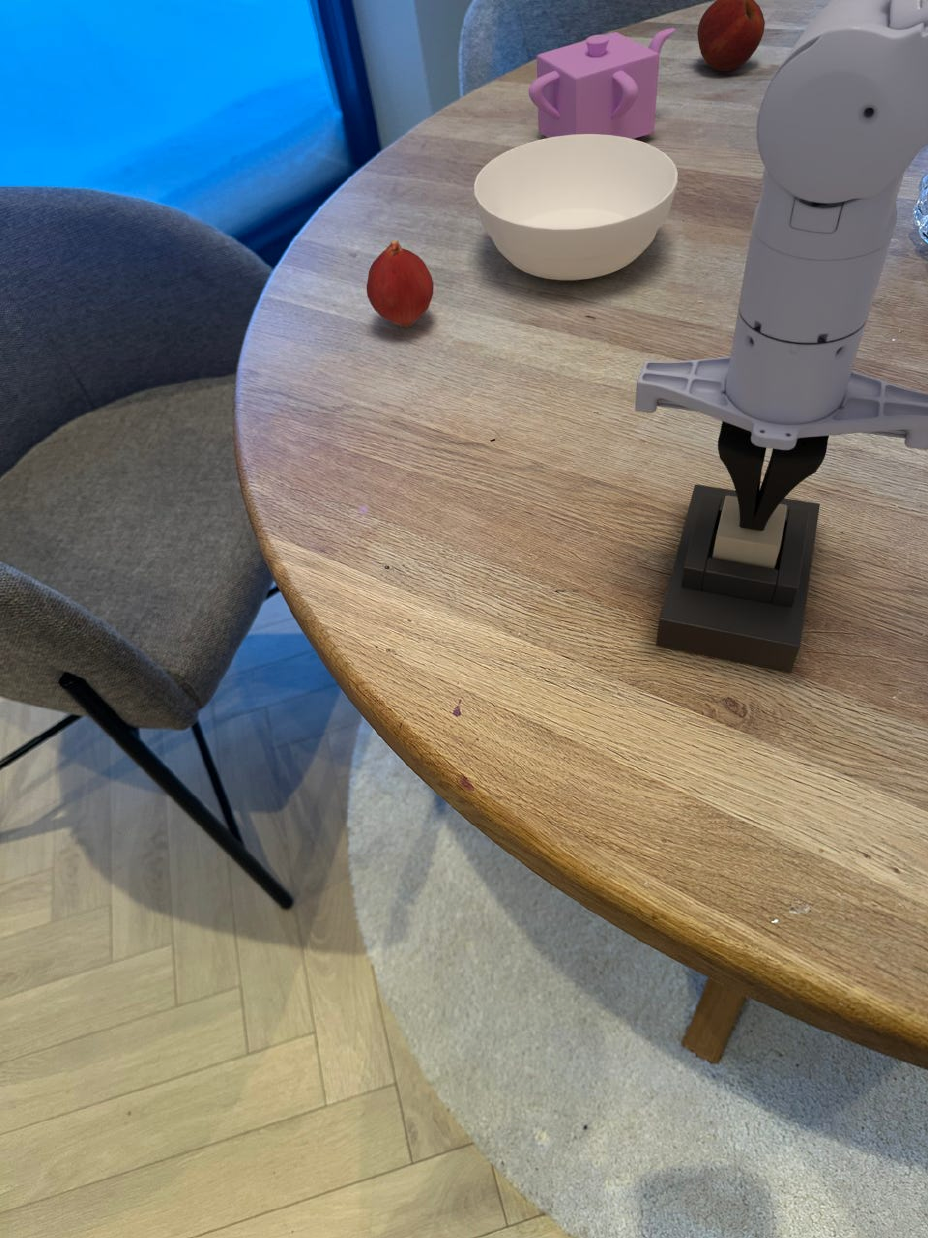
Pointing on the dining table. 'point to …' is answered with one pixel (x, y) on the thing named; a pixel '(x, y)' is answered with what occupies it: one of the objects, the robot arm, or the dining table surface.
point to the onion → (399, 285)
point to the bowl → (575, 203)
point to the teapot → (598, 87)
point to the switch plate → (738, 590)
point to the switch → (748, 537)
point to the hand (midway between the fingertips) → (753, 517)
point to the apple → (730, 33)
